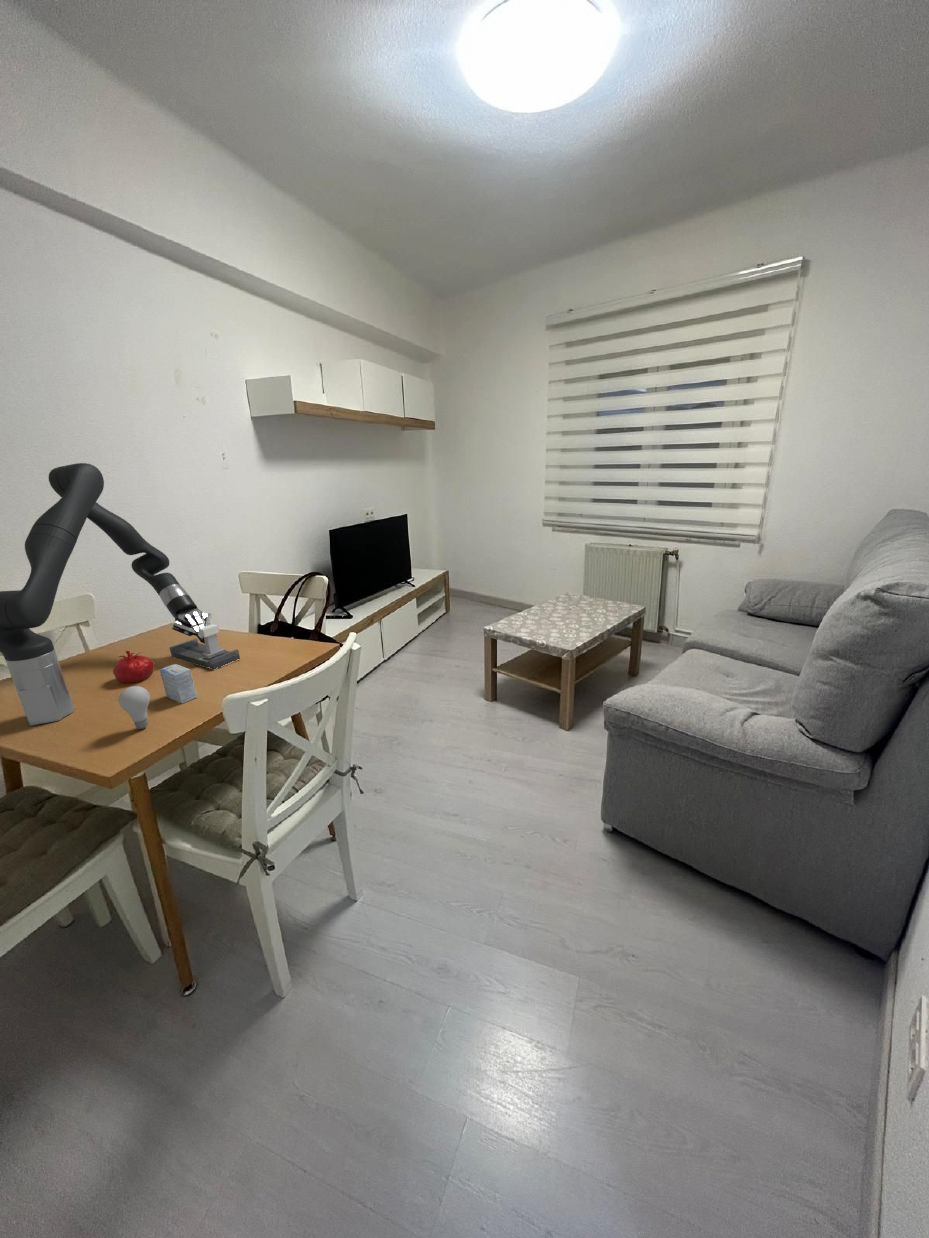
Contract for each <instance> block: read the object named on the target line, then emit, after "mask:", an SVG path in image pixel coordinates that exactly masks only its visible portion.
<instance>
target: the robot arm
mask: <svg viewBox="0 0 929 1238" xmlns="http://www.w3.org/2000/svg"><path fill="white" fill-rule="evenodd" d="M48 482H49V485H50V487H51V488H52V489H53V491H54V492H55V494H57V495H58V496H59V497H60V499H59V500H58V501H56V502H55V503H54V504H53V505H52V506H51V507H49V508H48V509H47V510H46V511H45V512H44V513H43V514H42V515H40V516H39V517H38V518H37V519H36V520H35V522H34V524H33V525H32V526H31V528H30V531H29V533H28V535H27V536H26V539H25V541H24V551H25V554H26V558H27V559H28V563H29V564H30V574H29V577H28V579H27V581H26V583H25V585H24V586H23V588H22V589H21V590H19V589H17V590H0V653H1V654H2V656H3V659H4V660H5V663H6V666H7V669H8V671H9V674H10V677H11V679H12V683H13V685H14V688H15V690H16V693H17V696H18V699H19V701H20V703H21V704H20V705H21V706H22V709H23V711H24V714H25V717H26V720H27V723H28V725H29V726H30V727H32V726H36V725H42V724H47V723H52V722H57V721H61V720H62V719H63V718H65V717H67V716H68V715H70V714H72V713H73V712H74V711H75V707H74V703H73V700H72V698H71V694H70V691H69V689H68V685H67V683H66V680H65V677H64V673H63V670H62V668H61V664H60V661H59V659H58V655H57V652H56V650H55V647H54V644H53V641H52V640H51V639H50V638H49V637H47V636H43V635H40V634H38V633H36V632H34V631H33V630H32V629H35V628H38V627H41V626H42V625H44V624H45V623H46V621H48V619H49V617H50V615H51V612H52V609H53V606H54V602H55V599H56V595H57V593H58V592H57V591H58V588H59V585H60V582H61V578H62V576H63V574H64V572H65V569H66V566H67V563H68V561H69V559H70V557H71V555H72V553H73V551H74V548H75V546H76V544H77V541H78V539H79V536H80V534H81V531H82V530H83V527H84V525H85V523H86V521H87V519H88V520H89V521H90V522H92V523H93V524H94V525H96V526H97V527H99V529H100V530H101V531H103V532H104V533H105V534H106V535H107V536H108V537H109V539H111V540H112V542H113V543H115V545H116V546H117V547H119V549H121V551H122V552H123V553H124V554H126V555H128V556H135V555H139V554H141V556H138V557H136V558H135V559H133V560H132V562H131V568H132V571H133V572H134V573H135V574H136V575H137V576H139V577H140V578H141V579H143V580H144V581H146V582H147V583H148V584H149V585H150V586H151V587H152V588H153V589H154V590H155V592H156V593H157V595H158V596H159V598H160V599H161V601H162V604H164V607H166V609H167V610H168V612H169V613H170V614H171V616H172V617H173V619H174V621H175V622H173V625H172V627H171V629H172V630H173V631H175V632H178V633H181V634H183V635H186V636H188V637H192V636H195V637H197V638H196V639H197V640H199V641H200V642H199V643H200V644H204V645H205V641H204V637H202V636H199V632H198V629H199V628H202V627H205V626H208V625H211V619H212V615H213V614H212V613H210V612H208V613H204V612H203V611H202V610H200V609H199V608H198V606H197V604H196V603H195V601H194V600H193V599H192V597H191V595H189V593H188V592H187V591H186V590H185V588H184V587H183V586H182V585H181V584H180V582H178V580H177V578H176V576H175V575H173V574H172V573H170V572H162V571H164V570H166V569H168V567H169V566H170V559H169V557H168V556H167V555H166V554H165V553H164V552H163V551H161V550H159V549H158V548H157V547H155V546H154V545H152V544H150V543H149V542H148V541H147V540H146V539H145V538H144V537H143V536H142V535H141V534H140V533H139V532H138V531H137V529H135V527H134V525H132V524H131V523H130V522H128V521H127V520H125V519H124V518H122V517H121V516H119V515H117V514H115V512H114V513H113V511H110V510H109V509H107V508H105V507H103V506H102V505H100V503H98V502H97V501H98V500H99V498H100V497H101V495H102V493H103V490H104V488H105V487H104V485H105V480H104V475H103V474H102V472H101V470H100V469H99V468H98V467H96V466H95V465H94V464H90V463H86V462H79V463H71V464H68V465H67V464H66V465H62V466H58V467H54V468H53V469H51V470H50V471H49V474H48ZM142 554H143V555H142ZM202 619H203V620H202ZM203 621H204V624H203Z"/></svg>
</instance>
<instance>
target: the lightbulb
mask: <svg viewBox="0 0 929 1238" xmlns="http://www.w3.org/2000/svg"><path fill="white" fill-rule="evenodd" d="M150 701H151V695H150V693H149V691H148V690H147V689H146V688H144V687H143V686H139V685H136V686H134V685H133V686H129V687H127V688H125V689H124V690H122V692H120V694H119V696H118V704H119V707H120V708H121V709H122V710H124V711H125V712H126V713H127V714H128V715H129V717H130V718H131V720H132V722H133V723H134V726H135V728H136V729H140V730H143V729H145V728H146V727H148V725H149V721H148V716H149V715H148V707H149V705H150Z"/></svg>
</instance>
